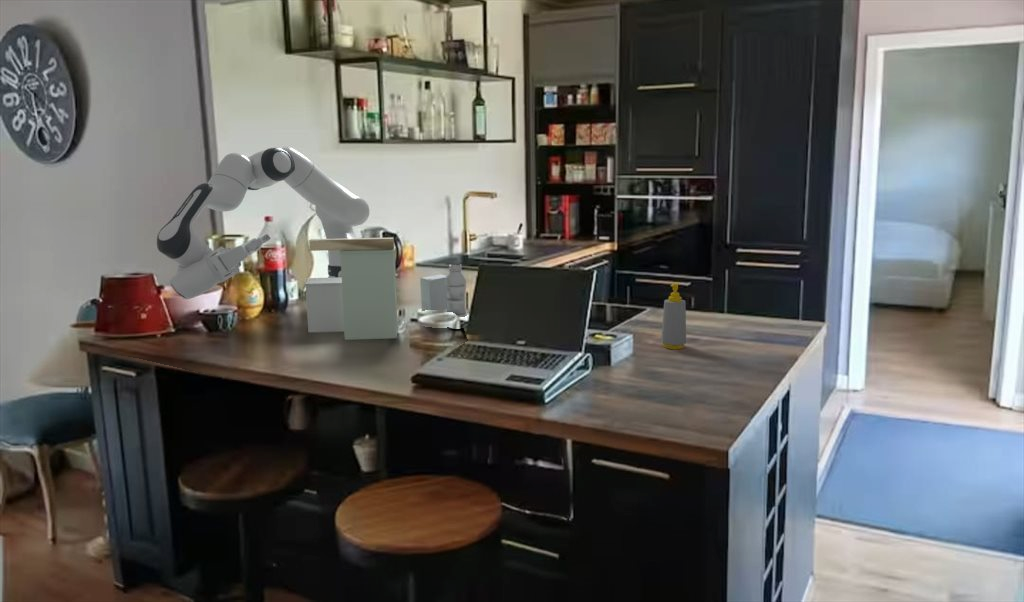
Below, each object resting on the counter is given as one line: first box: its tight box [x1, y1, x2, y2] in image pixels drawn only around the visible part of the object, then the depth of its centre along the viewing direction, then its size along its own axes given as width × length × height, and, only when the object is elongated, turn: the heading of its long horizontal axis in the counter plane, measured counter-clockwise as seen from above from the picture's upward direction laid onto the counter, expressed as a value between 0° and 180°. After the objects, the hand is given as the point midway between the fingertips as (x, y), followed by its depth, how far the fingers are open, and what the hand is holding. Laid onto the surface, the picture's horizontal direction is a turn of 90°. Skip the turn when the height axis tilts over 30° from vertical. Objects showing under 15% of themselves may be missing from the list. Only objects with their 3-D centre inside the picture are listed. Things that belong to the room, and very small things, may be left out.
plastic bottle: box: [445, 263, 468, 317], centre depth 244 cm, size 6×7×20 cm
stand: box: [339, 245, 399, 341], centre depth 236 cm, size 10×16×26 cm, turn 96°
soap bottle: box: [660, 281, 687, 350], centre depth 220 cm, size 7×7×18 cm
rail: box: [308, 237, 395, 252], centre depth 233 cm, size 3×24×3 cm, turn 96°
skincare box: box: [419, 273, 448, 312], centre depth 254 cm, size 8×6×15 cm
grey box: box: [304, 277, 344, 334], centre depth 247 cm, size 10×12×15 cm
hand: (265, 238), depth 230 cm, fingers open, 8 cm apart
